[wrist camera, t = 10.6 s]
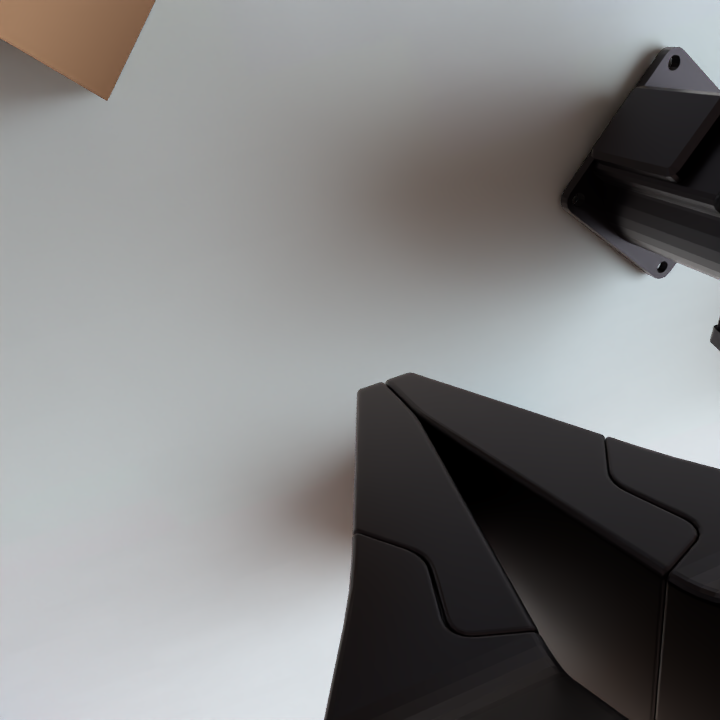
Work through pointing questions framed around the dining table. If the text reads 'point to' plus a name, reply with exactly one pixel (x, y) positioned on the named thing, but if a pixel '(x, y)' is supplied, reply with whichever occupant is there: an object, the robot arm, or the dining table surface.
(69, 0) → the lever stand
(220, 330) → the dining table surface
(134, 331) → the dining table surface
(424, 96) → the dining table surface
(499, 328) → the dining table surface
